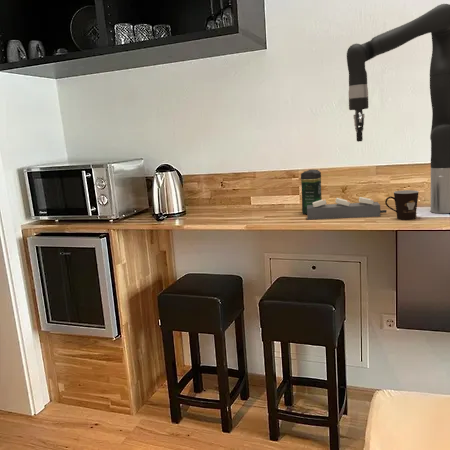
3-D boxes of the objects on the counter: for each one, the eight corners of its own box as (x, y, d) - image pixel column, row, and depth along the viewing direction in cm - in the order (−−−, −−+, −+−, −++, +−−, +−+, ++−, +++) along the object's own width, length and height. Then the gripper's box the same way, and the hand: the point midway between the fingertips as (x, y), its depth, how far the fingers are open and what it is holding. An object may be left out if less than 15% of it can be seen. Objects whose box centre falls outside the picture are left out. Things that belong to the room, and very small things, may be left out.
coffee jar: (318, 215, 201) (316, 170, 198) (300, 215, 205) (298, 171, 201) (324, 211, 210) (322, 168, 206) (307, 211, 213) (304, 168, 210)
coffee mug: (418, 216, 183) (418, 189, 181) (419, 220, 175) (419, 193, 173) (385, 216, 187) (385, 191, 185) (385, 221, 179) (384, 194, 177)
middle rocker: (348, 204, 193) (349, 200, 193) (348, 206, 190) (350, 202, 189) (335, 201, 194) (336, 197, 194) (335, 202, 190) (336, 198, 190)
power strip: (384, 212, 195) (384, 200, 194) (387, 216, 187) (387, 203, 186) (307, 216, 201) (307, 204, 200) (307, 219, 193) (306, 207, 192)
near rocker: (371, 203, 192) (372, 199, 191) (372, 204, 188) (373, 200, 188) (358, 200, 192) (359, 196, 192) (359, 202, 189) (360, 197, 188)
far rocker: (326, 202, 195) (325, 198, 194) (326, 203, 191) (325, 199, 191) (313, 206, 196) (312, 202, 196) (313, 207, 192) (312, 203, 192)
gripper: (370, 95, 185) (371, 141, 188) (366, 97, 198) (367, 140, 201) (349, 97, 186) (351, 142, 189) (347, 99, 199) (348, 141, 202)
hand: (359, 141), depth 195 cm, fingers closed
